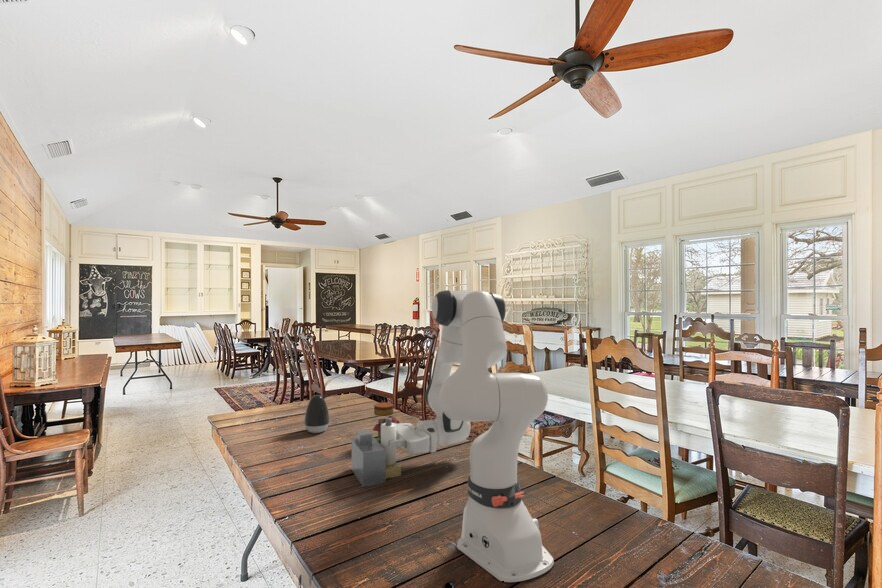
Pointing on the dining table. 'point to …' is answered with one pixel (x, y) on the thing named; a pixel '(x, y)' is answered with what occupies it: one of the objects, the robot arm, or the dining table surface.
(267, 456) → the dining table surface
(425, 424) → the robot arm
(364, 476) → the motor
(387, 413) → the mushroom figurine
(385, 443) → the white bottle
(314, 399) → the dark grey egg shape
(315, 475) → the dining table surface
